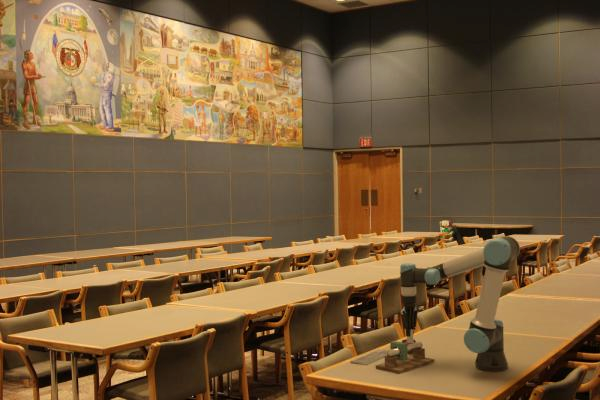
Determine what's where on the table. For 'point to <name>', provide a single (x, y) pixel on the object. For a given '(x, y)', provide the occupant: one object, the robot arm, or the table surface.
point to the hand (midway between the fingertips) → (410, 342)
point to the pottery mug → (408, 344)
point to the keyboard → (370, 357)
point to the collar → (402, 348)
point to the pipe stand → (405, 362)
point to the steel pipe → (409, 348)
